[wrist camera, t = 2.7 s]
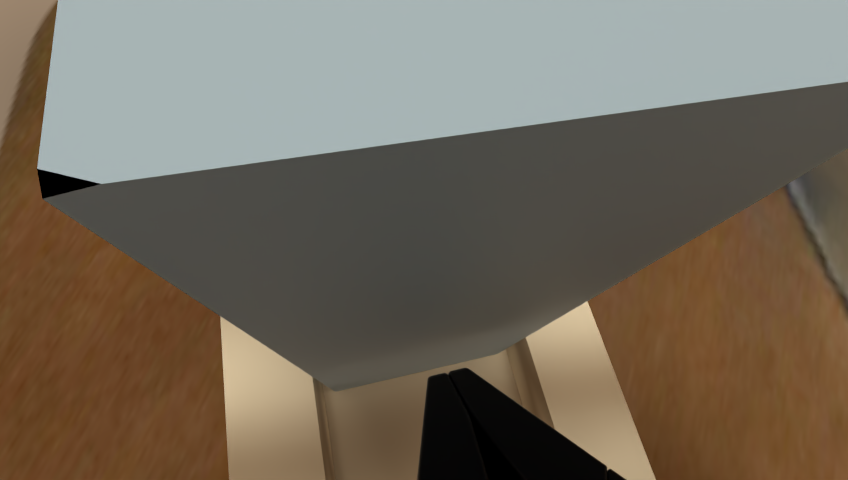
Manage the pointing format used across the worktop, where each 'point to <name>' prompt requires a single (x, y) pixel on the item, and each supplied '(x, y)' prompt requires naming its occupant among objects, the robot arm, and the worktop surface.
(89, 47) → the grey rectangular block
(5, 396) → the worktop surface
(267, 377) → the chute
